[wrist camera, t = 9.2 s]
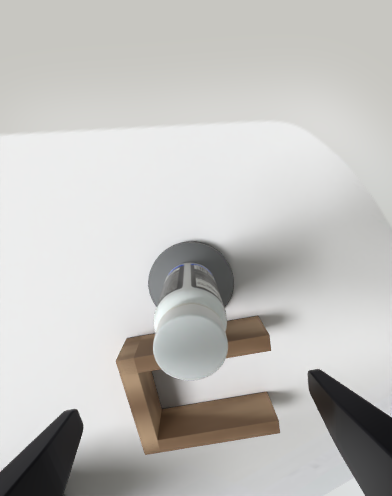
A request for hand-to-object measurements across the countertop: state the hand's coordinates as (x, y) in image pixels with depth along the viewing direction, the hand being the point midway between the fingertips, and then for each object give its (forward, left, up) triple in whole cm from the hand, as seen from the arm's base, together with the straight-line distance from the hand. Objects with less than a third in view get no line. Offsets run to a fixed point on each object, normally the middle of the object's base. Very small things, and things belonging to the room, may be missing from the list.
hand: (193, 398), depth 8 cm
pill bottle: (0, 0, -11) cm, 11 cm away
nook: (-11, +1, -12) cm, 16 cm away
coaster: (0, 0, -12) cm, 12 cm away
